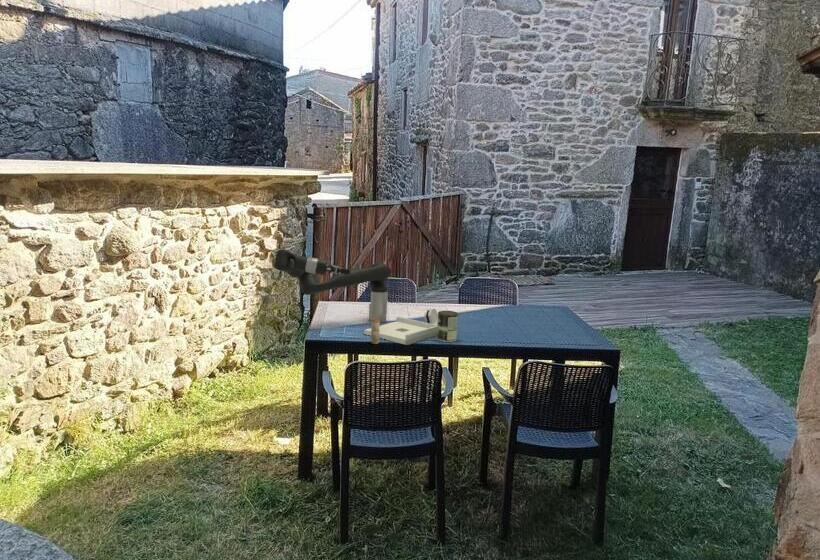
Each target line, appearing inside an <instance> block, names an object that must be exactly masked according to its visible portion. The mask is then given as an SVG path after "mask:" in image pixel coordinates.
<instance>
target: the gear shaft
mask: <svg viewBox="0 0 820 560" xmlns="http://www.w3.org/2000/svg"><path fill="white" fill-rule="evenodd" d="M370 322H371V326H370V328H371V336H370V343H371V345H372V344H374V345H377V344H379V343H380V338H379V327H380V326H381V325H380V324H381V323H380V319H378V318H372V320H371V321H370Z"/></svg>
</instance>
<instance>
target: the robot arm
mask: <svg viewBox="0 0 820 560" xmlns="http://www.w3.org/2000/svg"><path fill="white" fill-rule="evenodd" d="M273 264H274V265H273V266H274V268H275V269H276V270H277V271H281V272H285V273H286V274H288V275H289V276H290V277H292V278H295V279H296V278H297V279H298V281H299V282H298V283H299V285H300V288H301V290H302V293H303V294H304V295H306V296H312V295H315V294H319V293H322V292H327V291H329V290H333V289H338V288H344V287H345V288H346V287H350V286H355V285H359V284H364V283H367V282H369V286H370V303H369V304H368V307H369V308H368V321H369V322H371V320H372V318H378V319H380V324H381V323H382V324H383V323H387V317H388V316H387V315H388V314H387V313H388V289H389V288H388V285H387V284H386V280H387V279H388V278H390V276H391V274H392V270H391V268H390V267H389V266H388V265H387V264H386V263H382V262H380V261H379V262H378V261H377V262H374V263H373V264H372V265H371V266H370V267H368V268H343V267H341V266H339V265H334V264H330V265H328V260H327V259H324V258H323V259H322V258H315V257H309V256H308V257H307V256H303V255H299V254H296V253H294V252H292V251H291V250H287V249H286V248H285V249H284V248H281V249H278V250H277V251H276V255H275V258H274V263H273ZM327 272H328V273H329V274H333V275H332V276H331V277H330V278H328V280H325V281H323V282H319V281H318V279H317V276H316V275H320V276H326V273H327Z"/></svg>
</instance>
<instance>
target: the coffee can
mask: <svg viewBox="0 0 820 560" xmlns="http://www.w3.org/2000/svg"><path fill="white" fill-rule="evenodd" d="M437 313H438V327H437V336H436V340H437V341H440V342H442V341H443V343H454V342H456V341H457V335H458V334H457V333H458V332H457V331H458V321H459V320H458V317H459V313H458V312H457V311H454V310H440V311H437Z"/></svg>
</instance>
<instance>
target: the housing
mask: <svg viewBox="0 0 820 560" xmlns="http://www.w3.org/2000/svg"><path fill="white" fill-rule="evenodd" d="M437 327H438V325H435V324H430V323H426V322H424V321H420V320H415V319H410V318H405V317H403V316H402V317H401V316H397V317H396V321H393V322H389V323H385V324H381V325H380V327H379V339H380V338H382V339H381V340H384V339H386V340H385V341H389V340H390V341H389V342H393V341H394V342H393V343H398V344H401V345H405V346H409V345H412V344H415V343H418V342H421V341H420V340H422V341H424V340H423V339H425V340H427V339H426V338H428V339H430V337H431V338H433V336H434V337H437ZM363 334H366V335H365V336H368V335H370V336H369V337H371V327H370V328H367V329H364V332H363ZM417 341H418V342H417Z"/></svg>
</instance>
